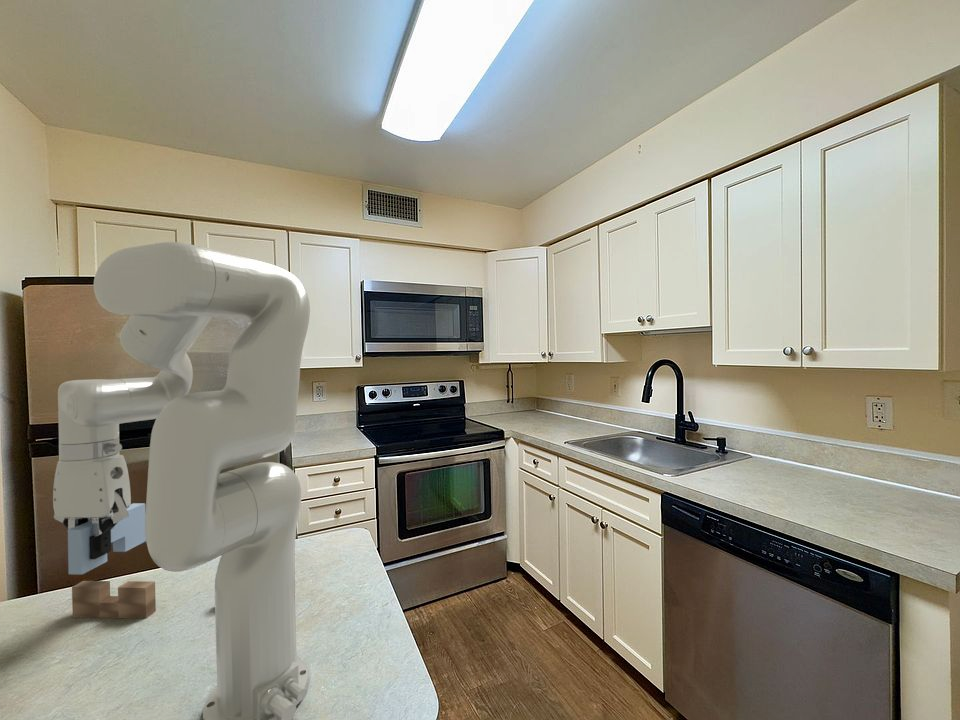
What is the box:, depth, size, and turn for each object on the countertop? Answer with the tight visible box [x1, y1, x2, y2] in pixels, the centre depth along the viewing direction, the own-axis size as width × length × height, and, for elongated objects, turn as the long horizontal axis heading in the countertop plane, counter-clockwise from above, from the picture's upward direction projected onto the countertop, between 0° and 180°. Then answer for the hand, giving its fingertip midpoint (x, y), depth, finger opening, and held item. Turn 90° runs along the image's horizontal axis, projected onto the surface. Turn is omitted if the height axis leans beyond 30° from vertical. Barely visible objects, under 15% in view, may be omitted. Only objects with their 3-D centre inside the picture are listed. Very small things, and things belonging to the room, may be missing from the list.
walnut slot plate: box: [71, 580, 157, 619], centre depth 73 cm, size 14×2×6 cm, turn 87°
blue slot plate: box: [67, 502, 146, 576], centre depth 73 cm, size 12×2×8 cm, turn 177°
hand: (92, 554), depth 69 cm, fingers closed on blue slot plate, 2 cm apart
